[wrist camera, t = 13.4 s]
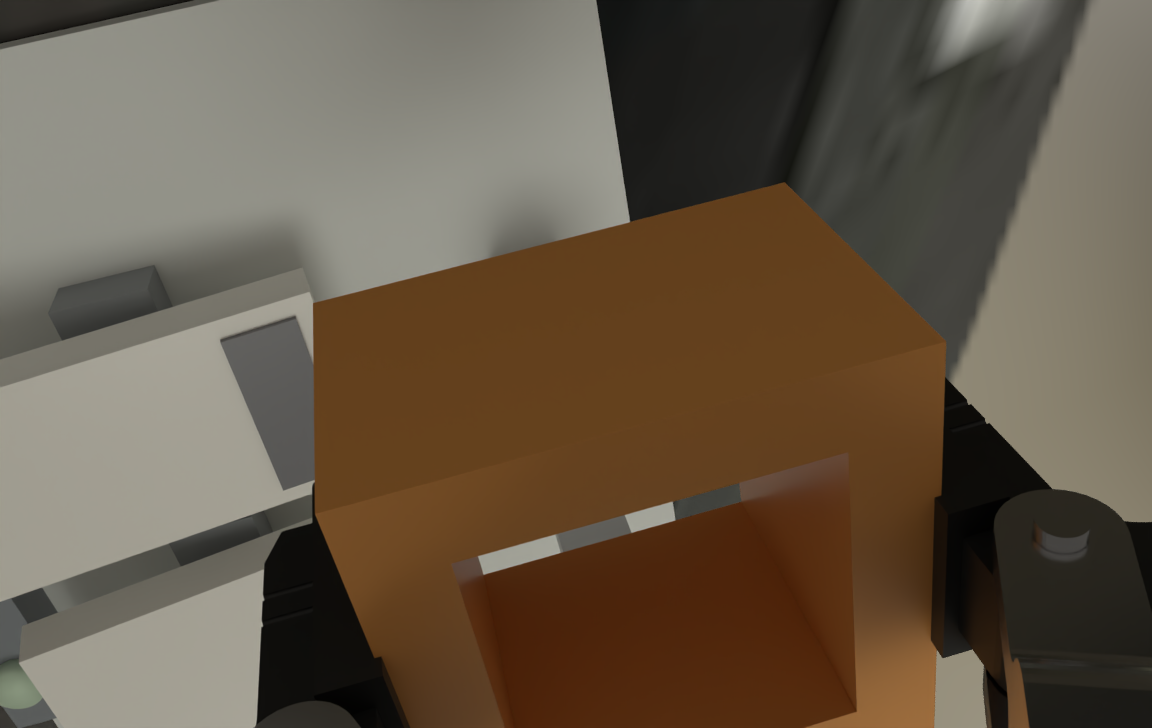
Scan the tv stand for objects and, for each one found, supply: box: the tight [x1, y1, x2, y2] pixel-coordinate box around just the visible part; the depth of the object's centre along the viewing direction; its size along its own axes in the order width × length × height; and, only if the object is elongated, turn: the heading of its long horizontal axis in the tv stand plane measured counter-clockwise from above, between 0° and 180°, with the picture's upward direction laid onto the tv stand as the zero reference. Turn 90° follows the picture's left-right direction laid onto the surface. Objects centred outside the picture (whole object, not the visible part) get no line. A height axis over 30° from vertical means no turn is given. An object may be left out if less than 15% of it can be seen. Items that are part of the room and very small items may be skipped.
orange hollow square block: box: [313, 183, 946, 728], centre depth 13 cm, size 6×6×4 cm
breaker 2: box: [19, 518, 312, 728], centre depth 30 cm, size 10×6×2 cm, turn 99°
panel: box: [0, 0, 675, 728], centre depth 27 cm, size 21×21×7 cm
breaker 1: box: [0, 267, 315, 602], centre depth 26 cm, size 10×6×2 cm, turn 99°
